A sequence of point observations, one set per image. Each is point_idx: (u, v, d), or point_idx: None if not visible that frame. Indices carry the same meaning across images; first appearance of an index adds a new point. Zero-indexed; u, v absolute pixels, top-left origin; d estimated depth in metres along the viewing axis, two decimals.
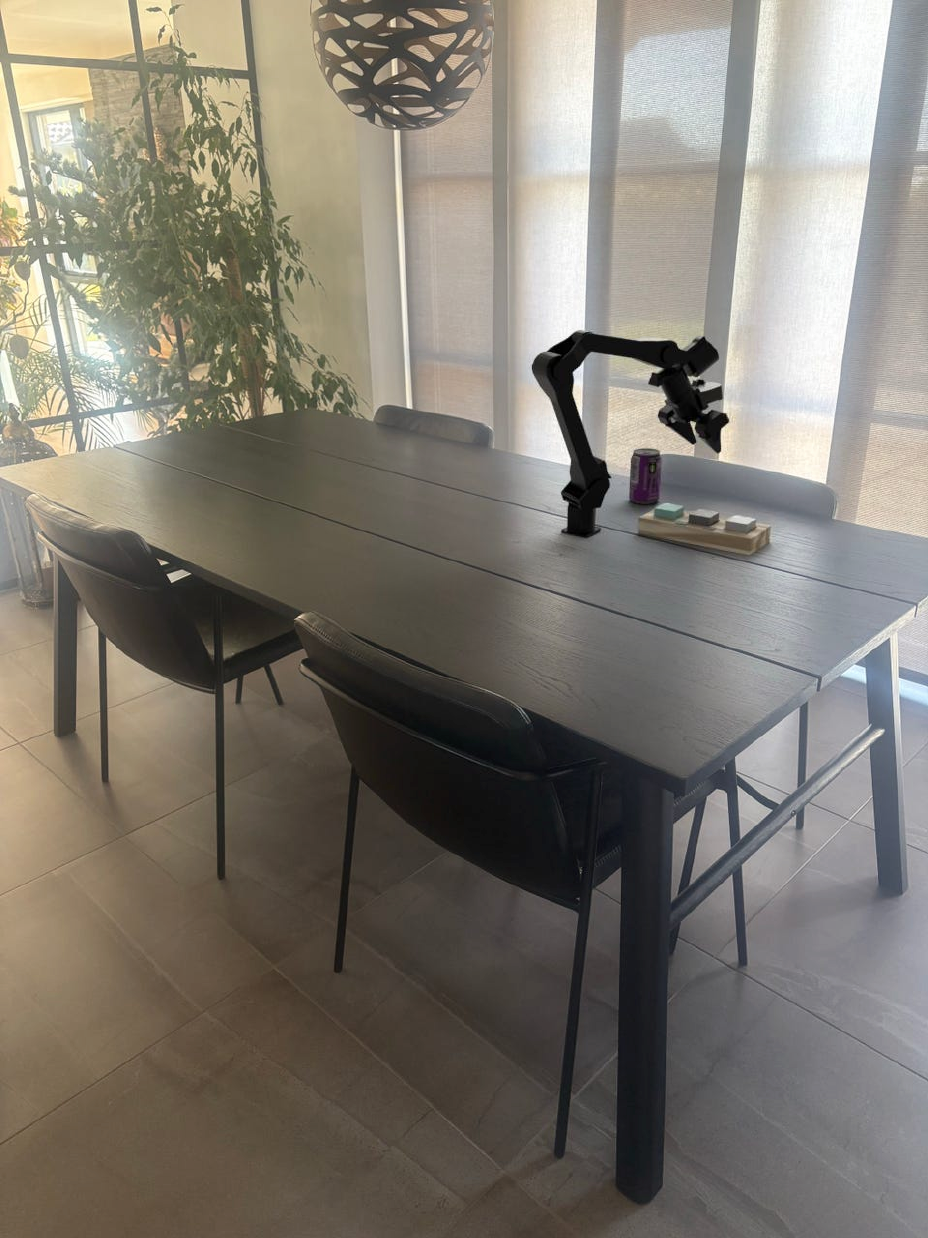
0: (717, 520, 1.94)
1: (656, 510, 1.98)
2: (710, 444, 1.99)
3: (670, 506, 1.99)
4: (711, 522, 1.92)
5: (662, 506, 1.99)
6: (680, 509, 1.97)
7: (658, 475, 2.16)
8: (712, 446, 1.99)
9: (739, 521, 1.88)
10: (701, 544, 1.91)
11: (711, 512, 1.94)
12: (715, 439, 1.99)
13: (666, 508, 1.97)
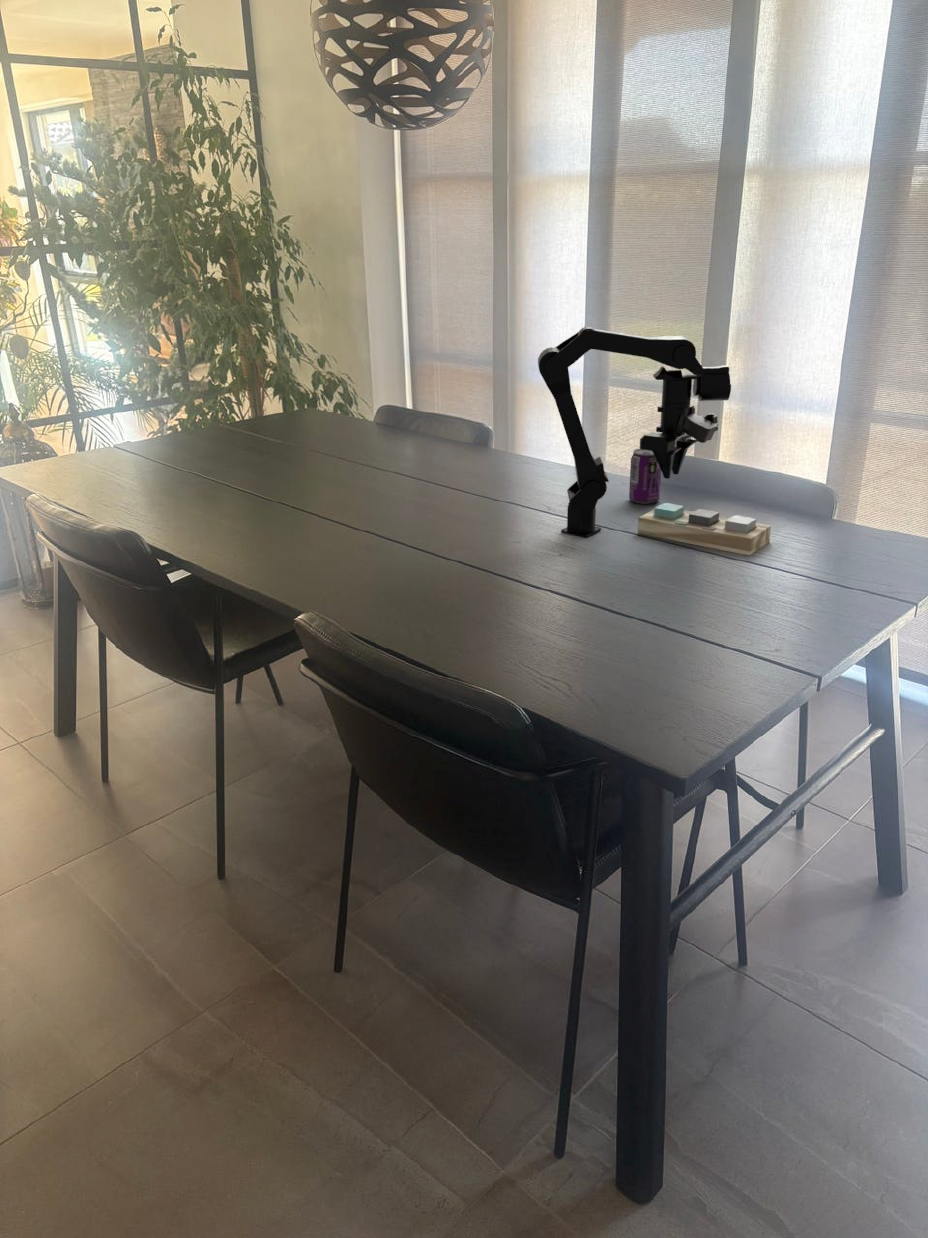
0: (717, 520, 1.94)
1: (656, 510, 1.98)
2: (657, 460, 1.93)
3: (670, 506, 1.99)
4: (711, 522, 1.92)
5: (662, 506, 1.99)
6: (680, 509, 1.97)
7: (658, 475, 2.16)
8: (659, 464, 1.93)
9: (739, 521, 1.88)
10: (701, 544, 1.91)
11: (711, 512, 1.94)
12: (665, 460, 1.92)
13: (666, 508, 1.97)
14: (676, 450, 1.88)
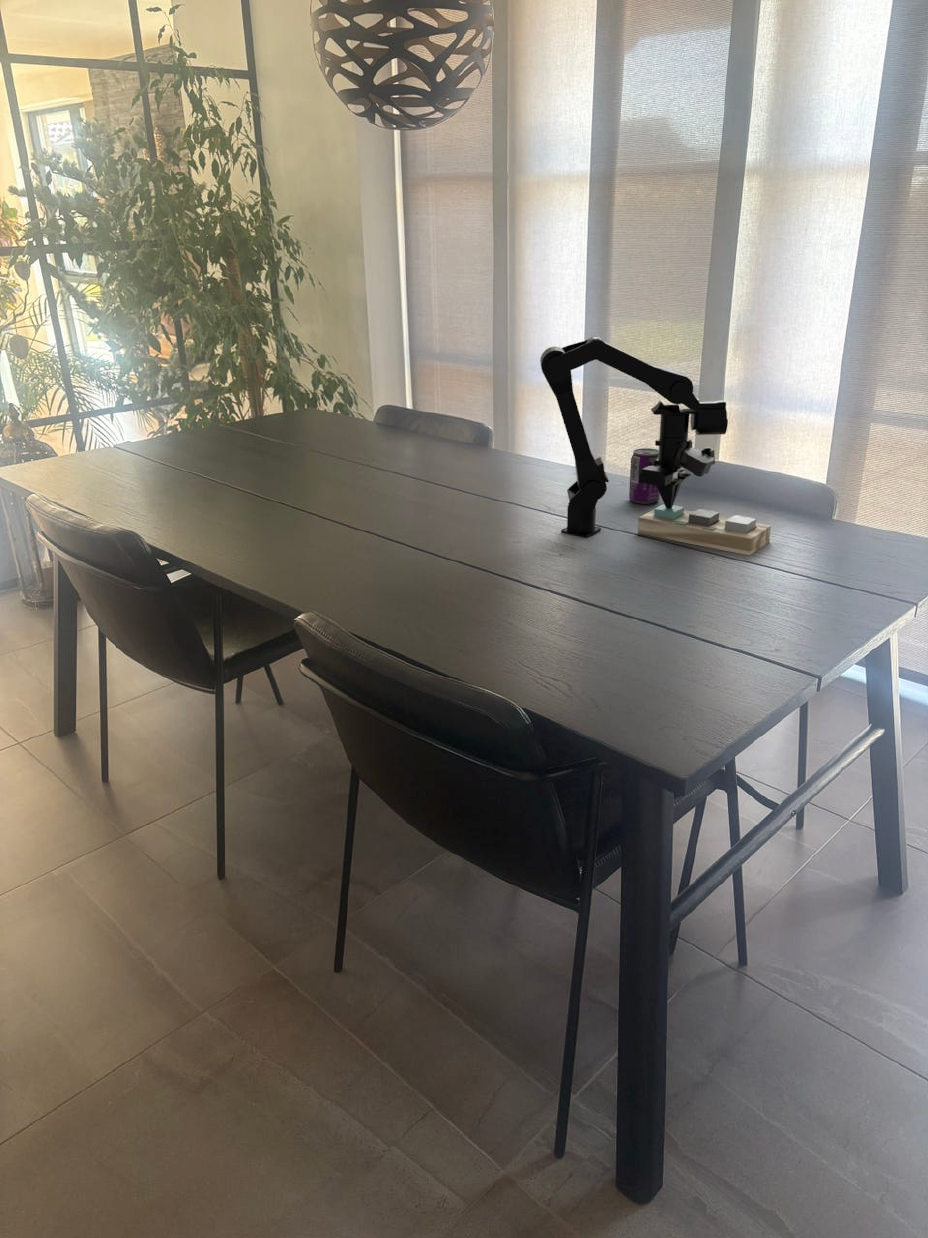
0: (717, 520, 1.94)
1: (656, 511, 1.98)
2: (659, 490, 1.97)
3: None
4: (711, 522, 1.92)
5: (662, 507, 1.99)
6: (680, 510, 1.97)
7: None
8: (661, 494, 1.97)
9: (739, 521, 1.88)
10: (701, 544, 1.91)
11: (711, 512, 1.94)
12: (666, 491, 1.96)
13: (666, 509, 1.97)
14: (677, 481, 1.92)
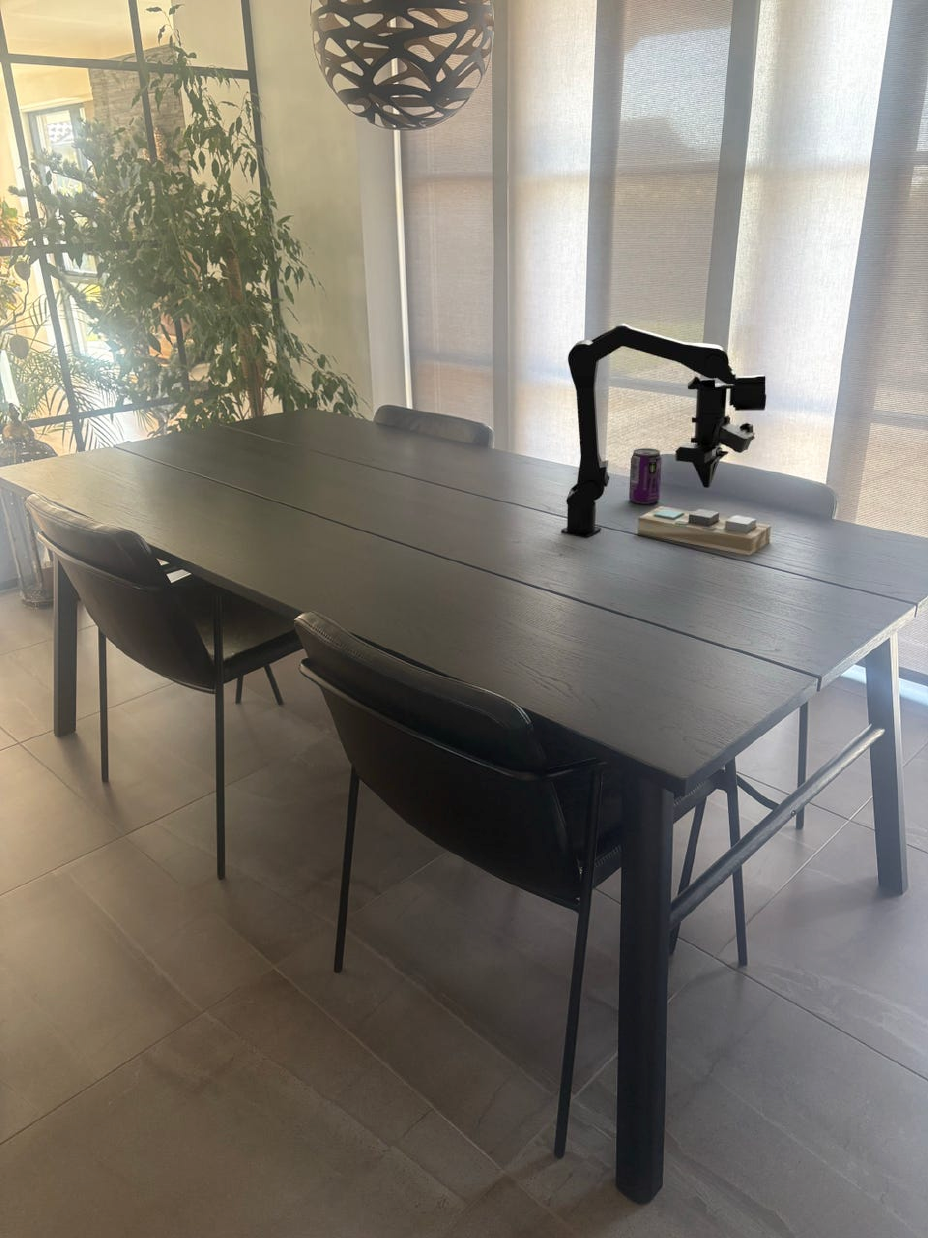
0: (717, 520, 1.94)
1: (656, 516, 1.98)
2: (696, 469, 1.90)
3: (669, 512, 1.99)
4: (711, 522, 1.92)
5: (662, 512, 1.99)
6: (680, 515, 1.98)
7: (658, 475, 2.16)
8: (699, 473, 1.90)
9: (739, 521, 1.88)
10: (701, 544, 1.91)
11: (711, 512, 1.94)
12: (704, 470, 1.89)
13: (666, 514, 1.97)
14: (716, 459, 1.85)
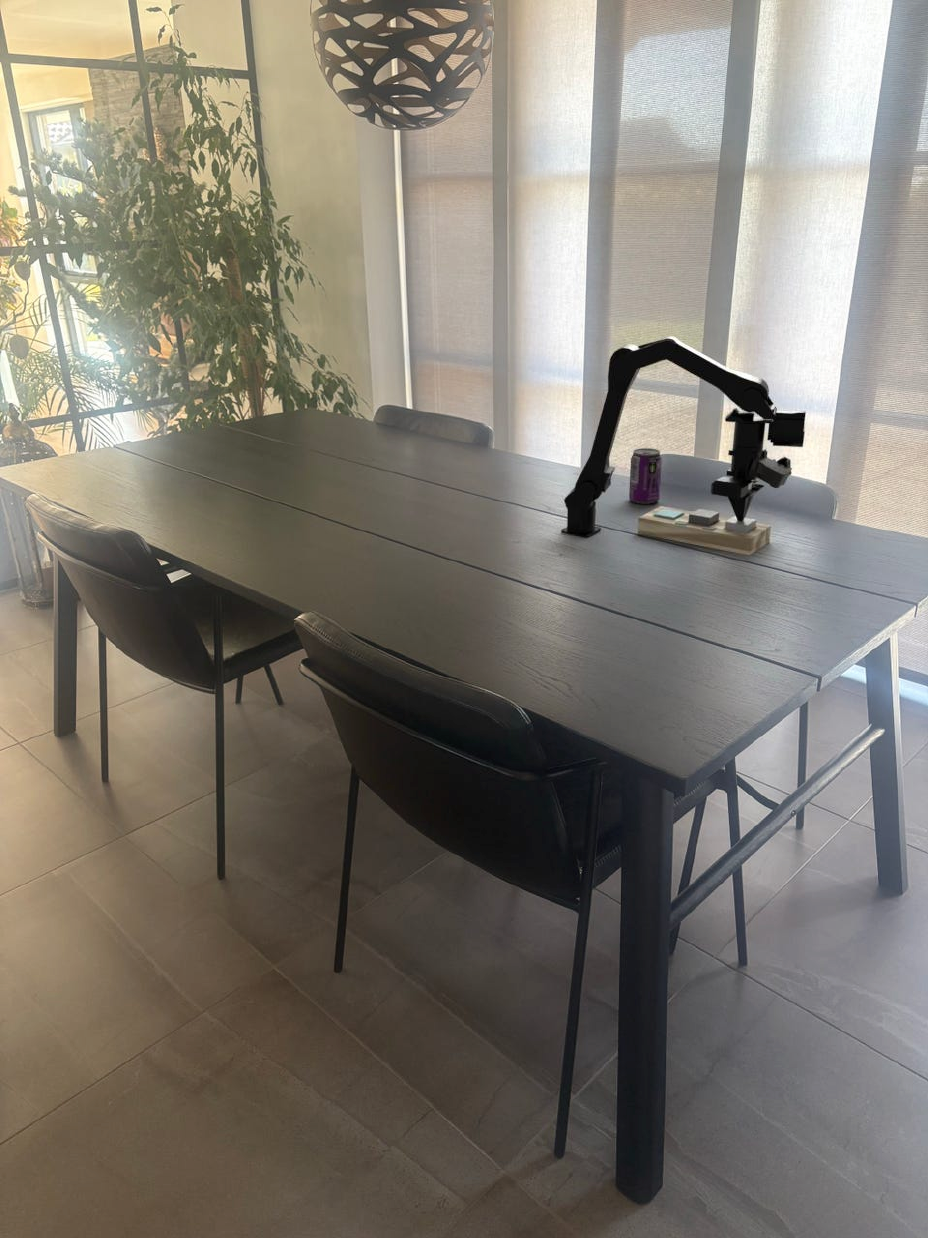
0: (717, 520, 1.94)
1: (656, 516, 1.98)
2: (731, 502, 1.87)
3: (669, 512, 1.99)
4: (711, 522, 1.92)
5: (662, 512, 1.99)
6: (680, 515, 1.98)
7: (658, 475, 2.16)
8: (733, 506, 1.88)
9: (739, 522, 1.88)
10: (701, 544, 1.91)
11: (711, 512, 1.94)
12: (739, 503, 1.86)
13: (666, 514, 1.97)
14: (752, 493, 1.83)
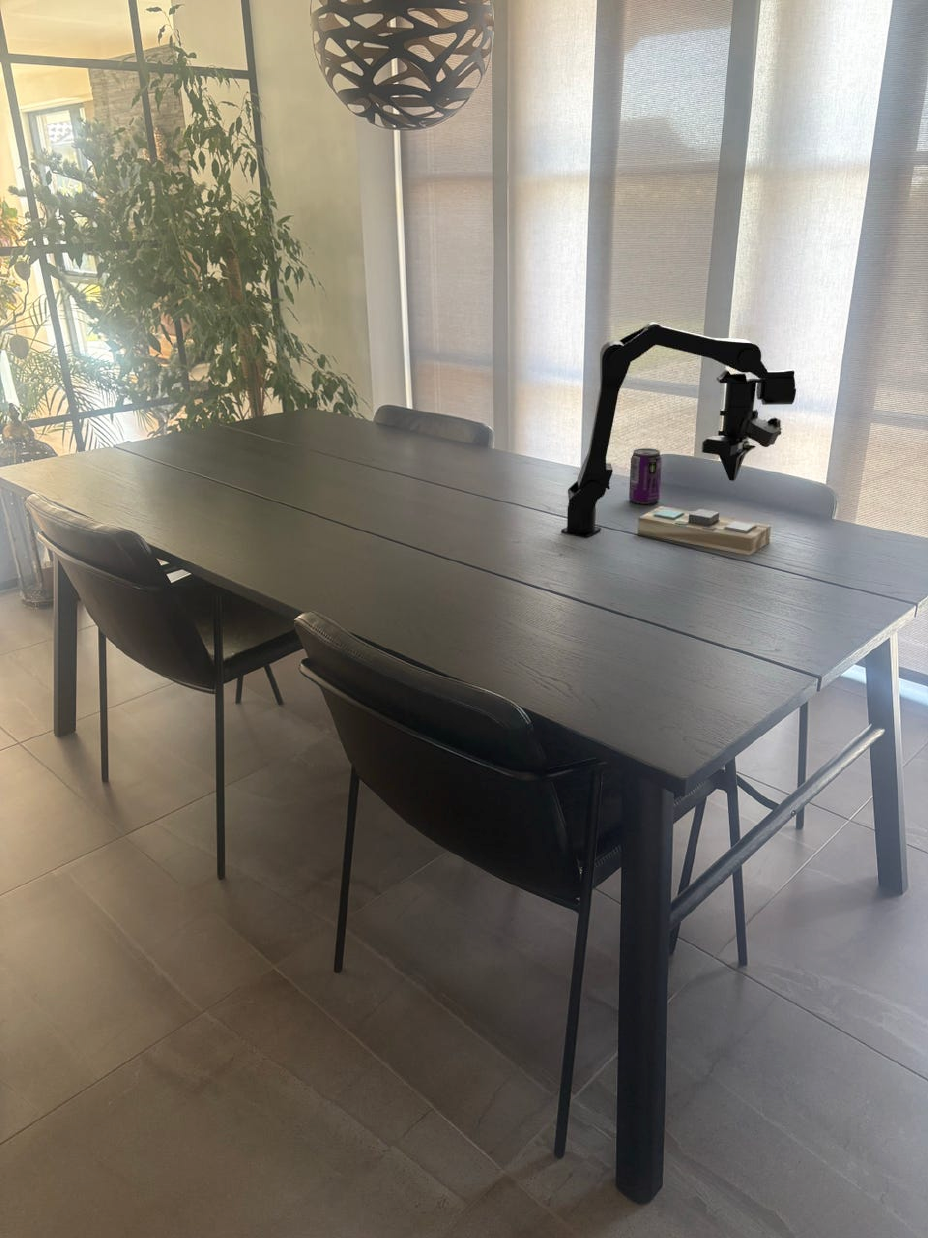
0: (717, 520, 1.94)
1: (656, 516, 1.98)
2: (722, 462, 1.93)
3: (669, 512, 1.99)
4: (711, 522, 1.92)
5: (662, 512, 1.99)
6: (680, 515, 1.98)
7: (658, 475, 2.16)
8: (724, 466, 1.93)
9: (738, 527, 1.88)
10: (701, 544, 1.91)
11: (711, 512, 1.94)
12: (730, 463, 1.92)
13: (666, 514, 1.97)
14: (742, 452, 1.88)
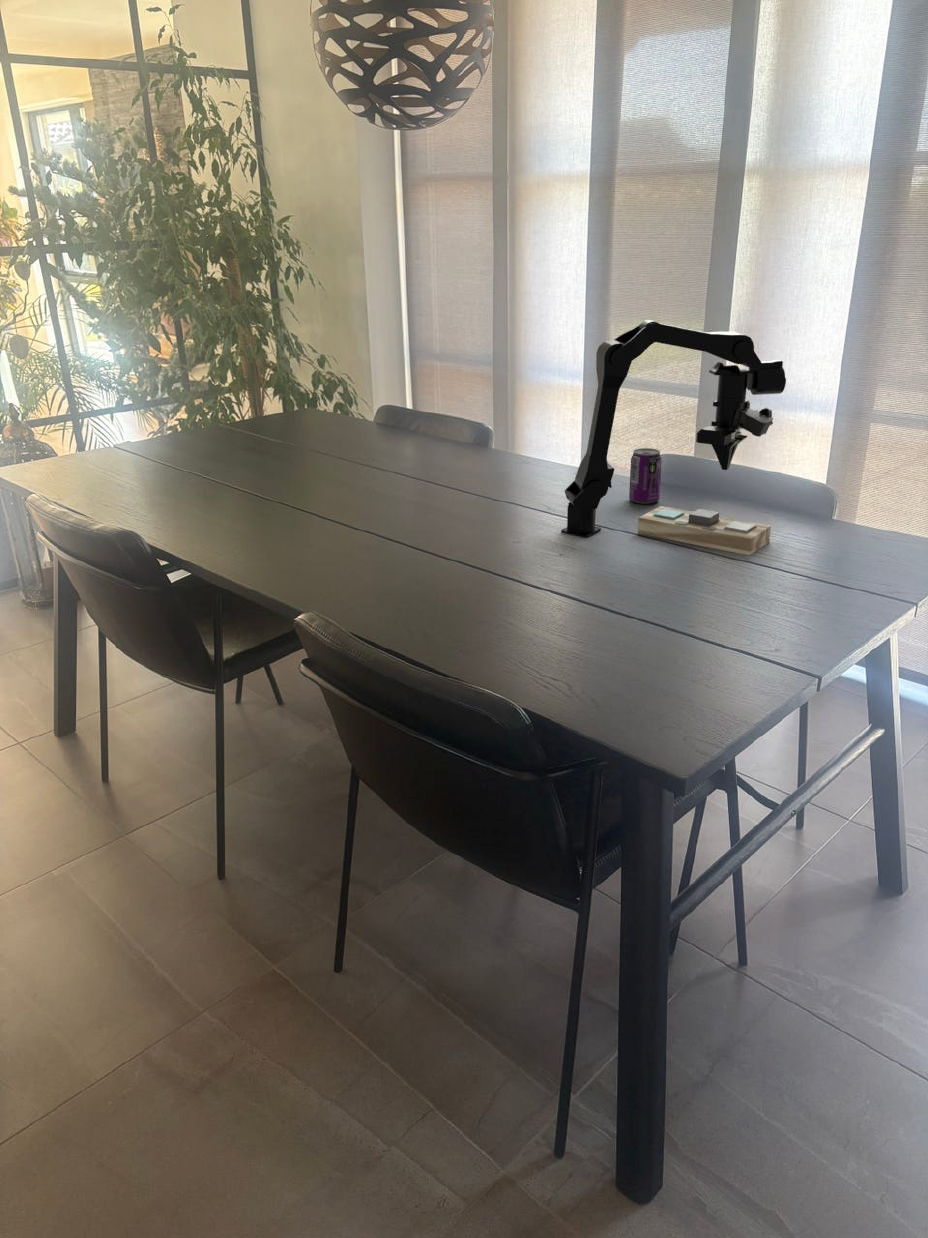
0: (717, 520, 1.94)
1: (656, 516, 1.98)
2: (716, 452, 1.98)
3: (669, 512, 1.99)
4: (711, 522, 1.92)
5: (662, 512, 1.99)
6: (680, 515, 1.98)
7: (658, 475, 2.16)
8: (718, 456, 1.98)
9: (738, 527, 1.88)
10: (701, 544, 1.91)
11: (711, 512, 1.94)
12: (723, 452, 1.97)
13: (666, 514, 1.97)
14: (735, 442, 1.93)
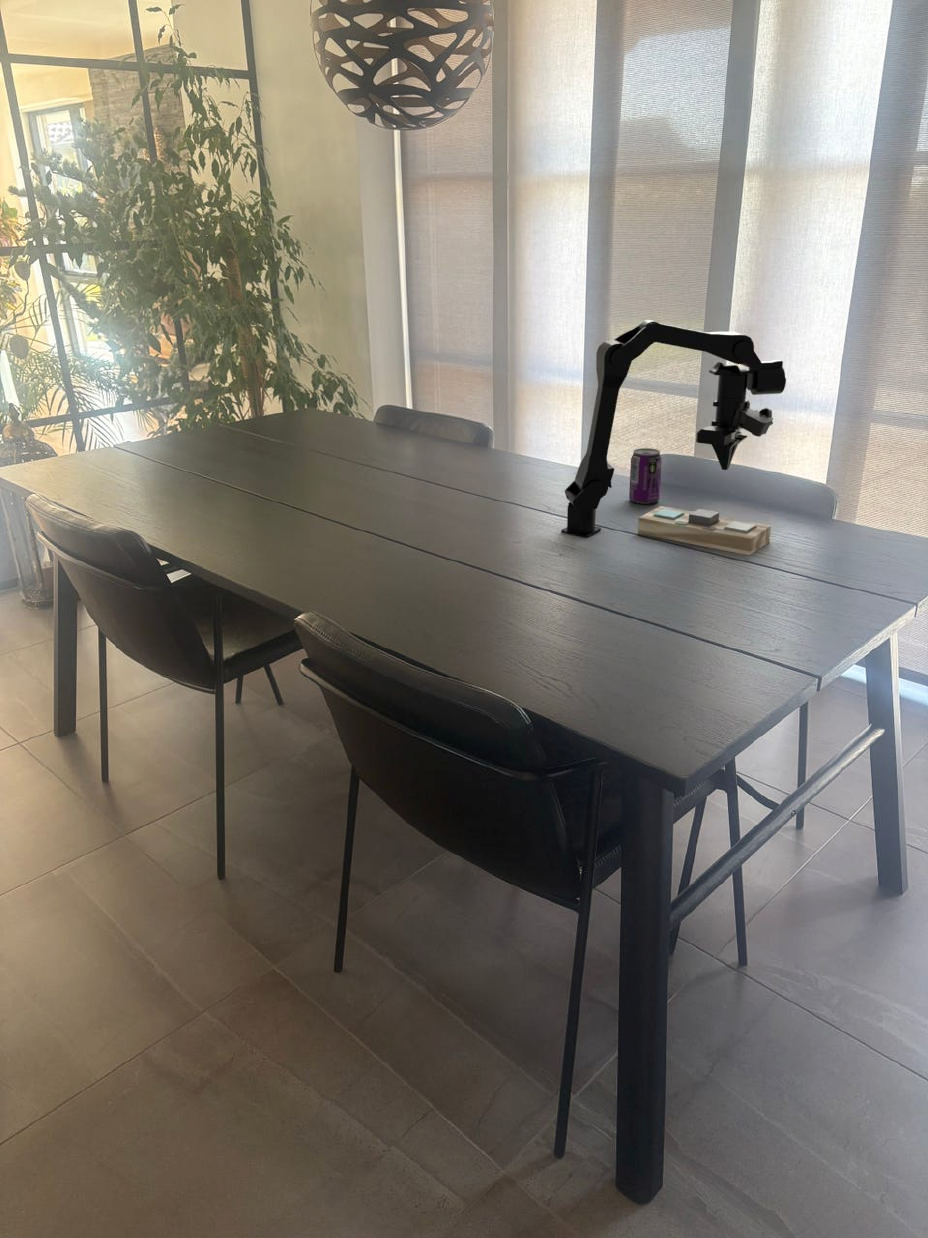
0: (717, 520, 1.94)
1: (656, 516, 1.98)
2: (716, 452, 1.98)
3: (669, 512, 1.99)
4: (711, 522, 1.92)
5: (662, 512, 1.99)
6: (680, 515, 1.98)
7: (658, 475, 2.16)
8: (718, 456, 1.98)
9: (738, 527, 1.88)
10: (701, 544, 1.91)
11: (711, 512, 1.94)
12: (723, 452, 1.97)
13: (666, 514, 1.97)
14: (735, 442, 1.93)
